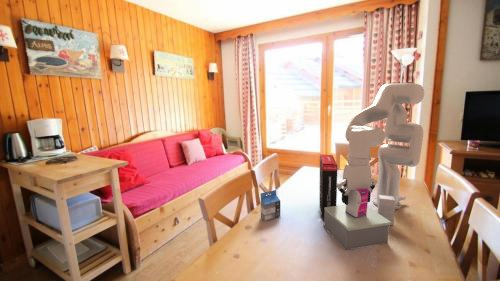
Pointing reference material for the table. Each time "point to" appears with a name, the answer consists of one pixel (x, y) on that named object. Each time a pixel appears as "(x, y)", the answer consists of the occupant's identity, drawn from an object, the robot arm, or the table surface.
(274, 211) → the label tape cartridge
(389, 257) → the table surface
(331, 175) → the graphics card box
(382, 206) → the skincare box
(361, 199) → the supplement box
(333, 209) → the box lid
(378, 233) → the storage box
